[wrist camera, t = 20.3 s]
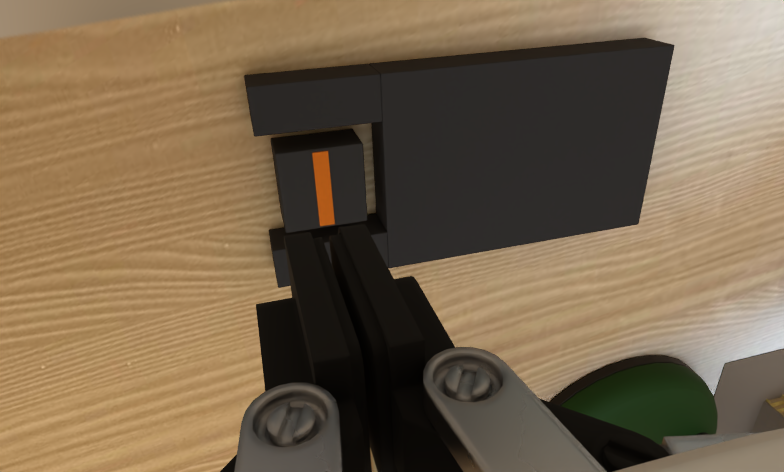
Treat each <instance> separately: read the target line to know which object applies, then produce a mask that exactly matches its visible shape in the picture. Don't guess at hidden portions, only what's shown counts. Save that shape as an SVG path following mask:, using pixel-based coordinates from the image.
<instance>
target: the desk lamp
mask: <svg viewBox="0 0 784 472" xmlns="http://www.w3.org/2000/svg"><path fill="white" fill-rule="evenodd" d="M550 403H553V404H556V405H559V406H562V407H565V408H568V409H571V410H573V411H576V412H579V413H582V414H585V415H588V416H591V417H594V418H597V419H599V420H602V421H605V422H608V423H611V424H614V425H617V426H620V427H623V428H625V429H628V430H631V431H634V432H637V433H639V434H641V435H643V436H645V437H648V438H650V439H652V440H653V441H654V442H656V443H657V444H662V441H663V437H668V436H690V435H712V434H716V430H717V419H718V412H717V408H716V403H715V399H714V396H713V394H712V393H711V391H710V390H709V388H708V386H707V385H706V383H705V382H704V381H703V379H702V378H701V377H700V376H698V375H697V374H696V373H695V372H694V371H693V370H692V369H691V368H690V367H688V366H687V365H686V364H684V363H683V362H682V361H680V360H679V359H675V358H671V357H668V356H644V357H638V358H632V359H628V360H624V361H621V362H618V363H615V364H612V365H609V366H607V367H604V368H602V369H600V370H598V371H595V372H593V373H591V374H589V375H587V376H586V377H584V378H582V379H581V380H579V381H577V382H576V383H574V384H572V385H571V386H569V387H568V388H567V389H565V390H564V391H563V392H561V393H560V394H559V395H558V396H556V397H555V398H554V399H553V400H552V401H551V402H550Z"/></svg>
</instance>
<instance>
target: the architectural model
mask: <svg viewBox="0 0 784 472" xmlns="http://www.w3.org/2000/svg"><path fill="white" fill-rule="evenodd" d="M714 399H715V403H716V408H717V412H718V419H717V430H716V434H734V433H756V432H767V431H772V430H777V429H782V428H784V349H782V350H778V351H774V352H770V353H766V354H762V355H758V356H754V357H750V358H746V359H742V360H738V361H734V362H730V363H726V364H725V365H724V368H723V371H722V375H721V378H720V381H719V384H718V387H717V390H716V393H715V396H714Z"/></svg>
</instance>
